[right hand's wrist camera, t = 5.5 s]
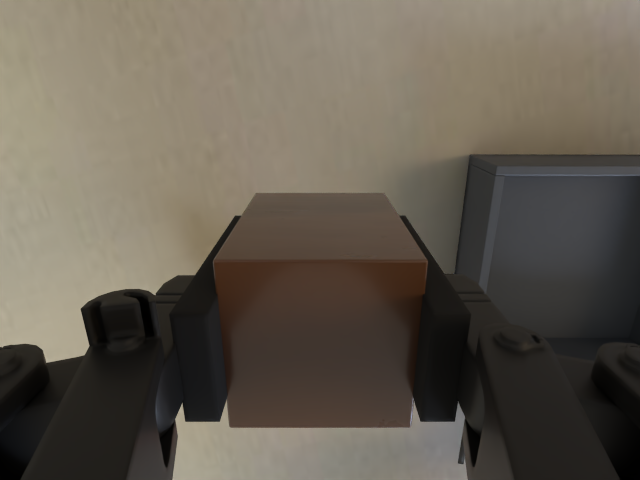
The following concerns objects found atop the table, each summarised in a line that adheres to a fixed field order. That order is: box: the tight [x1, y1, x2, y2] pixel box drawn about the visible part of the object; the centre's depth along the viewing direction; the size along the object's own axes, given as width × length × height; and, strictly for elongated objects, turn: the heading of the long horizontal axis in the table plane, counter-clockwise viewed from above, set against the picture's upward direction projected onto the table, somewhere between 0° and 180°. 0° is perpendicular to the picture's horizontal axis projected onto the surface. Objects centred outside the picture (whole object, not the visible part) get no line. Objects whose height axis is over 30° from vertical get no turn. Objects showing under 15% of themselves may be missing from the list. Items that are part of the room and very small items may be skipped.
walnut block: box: [213, 193, 428, 428], centre depth 12 cm, size 4×4×6 cm
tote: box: [455, 155, 640, 361], centre depth 30 cm, size 27×15×6 cm, turn 0°
